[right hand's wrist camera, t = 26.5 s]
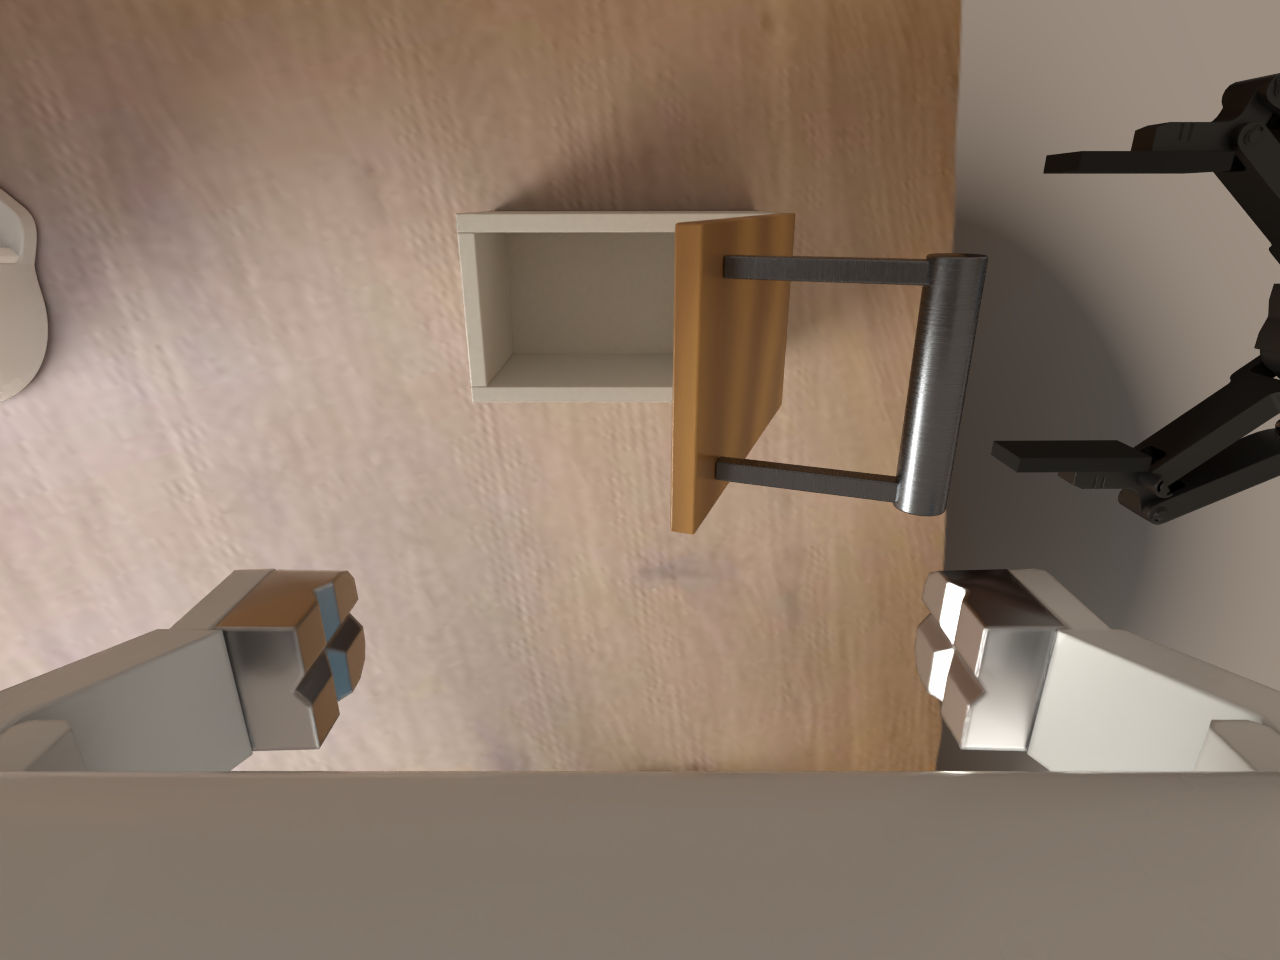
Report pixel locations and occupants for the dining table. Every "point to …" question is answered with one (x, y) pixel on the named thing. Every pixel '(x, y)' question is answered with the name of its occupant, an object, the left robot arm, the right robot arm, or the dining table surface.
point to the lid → (755, 356)
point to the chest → (571, 303)
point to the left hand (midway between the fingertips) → (1030, 320)
